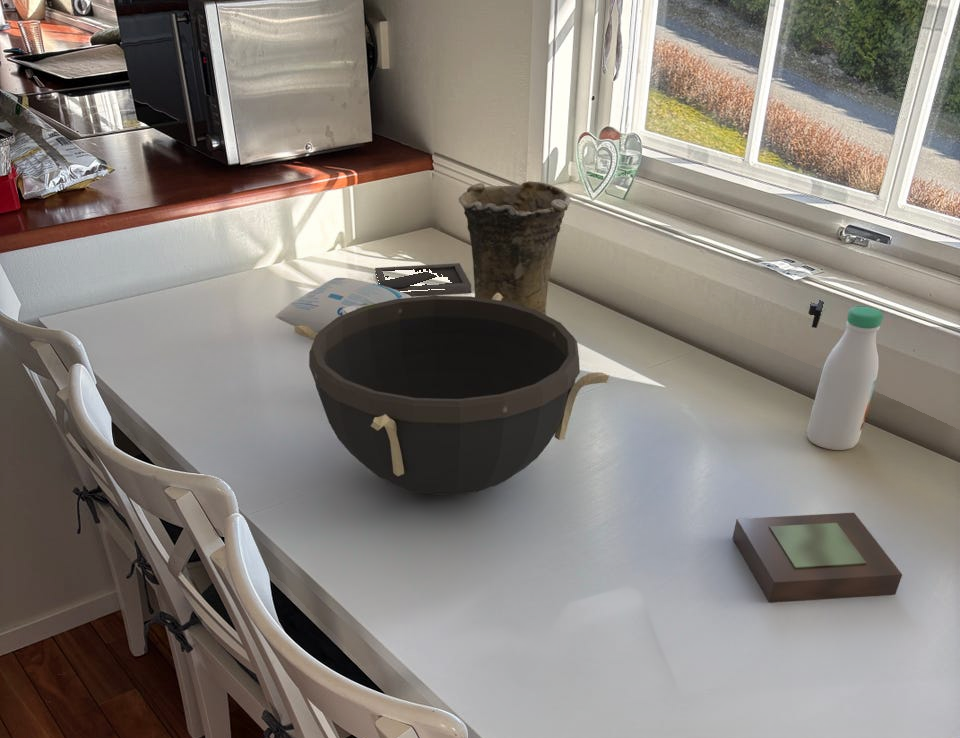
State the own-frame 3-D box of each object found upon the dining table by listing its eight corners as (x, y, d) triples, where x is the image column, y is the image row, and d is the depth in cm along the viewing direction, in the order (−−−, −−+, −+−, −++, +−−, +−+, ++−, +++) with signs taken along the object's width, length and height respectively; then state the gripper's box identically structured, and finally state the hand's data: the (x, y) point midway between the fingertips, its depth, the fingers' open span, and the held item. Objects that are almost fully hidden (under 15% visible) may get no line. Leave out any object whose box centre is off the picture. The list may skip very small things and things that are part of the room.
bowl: (373, 573, 118) (362, 426, 105) (290, 447, 143) (274, 316, 130) (617, 511, 130) (634, 372, 117) (502, 404, 155) (506, 280, 142)
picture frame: (382, 298, 190) (471, 292, 193) (382, 288, 189) (471, 282, 192) (375, 275, 200) (459, 270, 203) (374, 265, 199) (459, 261, 202)
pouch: (363, 315, 163) (418, 275, 176) (271, 300, 169) (330, 262, 183) (368, 359, 168) (421, 317, 181) (278, 342, 174) (336, 303, 188)
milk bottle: (850, 456, 143) (888, 325, 130) (799, 443, 146) (832, 314, 133) (862, 435, 148) (901, 307, 135) (813, 423, 151) (846, 297, 138)
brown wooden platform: (848, 531, 127) (854, 510, 125) (895, 594, 116) (903, 573, 114) (732, 538, 125) (736, 517, 123) (769, 602, 115) (774, 581, 113)
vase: (471, 375, 163) (472, 209, 146) (451, 334, 177) (449, 178, 160) (572, 366, 166) (584, 203, 149) (544, 327, 180) (553, 173, 163)
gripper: (946, 314, 159) (941, 363, 143) (793, 292, 166) (773, 336, 151) (961, 268, 154) (958, 314, 139) (803, 247, 161) (784, 289, 146)
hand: (862, 326), depth 145 cm, fingers open, 13 cm apart
